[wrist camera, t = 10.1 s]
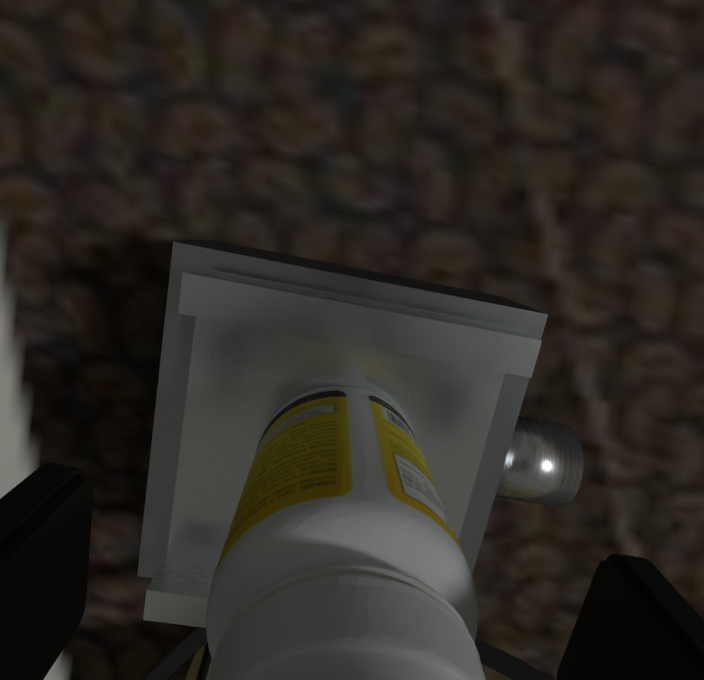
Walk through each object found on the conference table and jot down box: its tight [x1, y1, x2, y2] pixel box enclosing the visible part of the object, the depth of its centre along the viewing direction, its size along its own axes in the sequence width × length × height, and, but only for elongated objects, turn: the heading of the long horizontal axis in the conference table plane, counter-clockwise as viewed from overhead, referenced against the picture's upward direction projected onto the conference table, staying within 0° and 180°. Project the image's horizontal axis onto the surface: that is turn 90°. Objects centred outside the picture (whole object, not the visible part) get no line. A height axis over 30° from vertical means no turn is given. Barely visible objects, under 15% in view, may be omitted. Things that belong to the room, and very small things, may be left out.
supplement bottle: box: [206, 386, 486, 680], centre depth 10 cm, size 5×5×8 cm
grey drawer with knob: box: [137, 240, 583, 628], centre depth 15 cm, size 11×14×6 cm
